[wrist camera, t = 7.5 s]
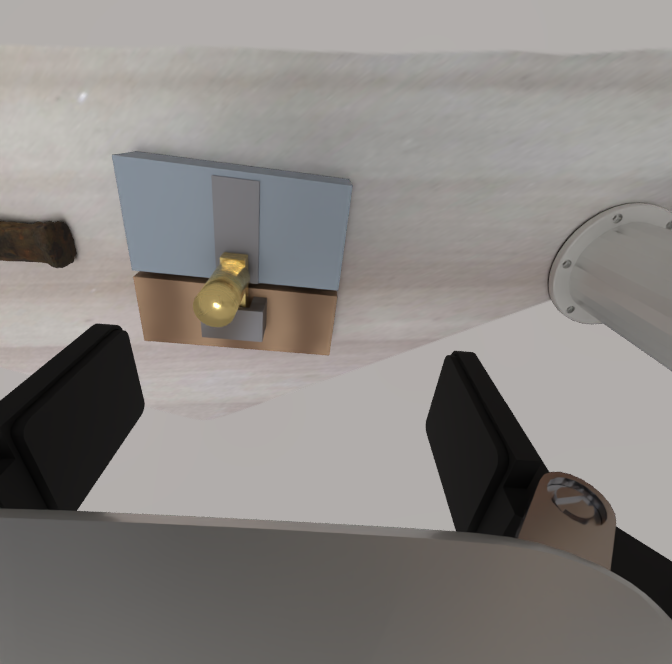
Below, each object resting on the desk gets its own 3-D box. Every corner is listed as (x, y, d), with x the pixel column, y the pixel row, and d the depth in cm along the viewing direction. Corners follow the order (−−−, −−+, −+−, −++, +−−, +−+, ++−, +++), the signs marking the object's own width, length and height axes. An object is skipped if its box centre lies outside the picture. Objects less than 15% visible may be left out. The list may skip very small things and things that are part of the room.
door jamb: (335, 280, 36) (338, 310, 30) (328, 335, 39) (329, 372, 33) (152, 261, 34) (116, 290, 28) (160, 320, 37) (130, 357, 31)
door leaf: (348, 179, 31) (353, 186, 27) (336, 274, 36) (338, 291, 32) (136, 151, 29) (109, 155, 26) (151, 255, 34) (130, 271, 30)
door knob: (253, 255, 30) (234, 291, 23) (252, 327, 33) (236, 375, 27) (219, 251, 29) (191, 286, 23) (222, 324, 33) (198, 372, 26)
